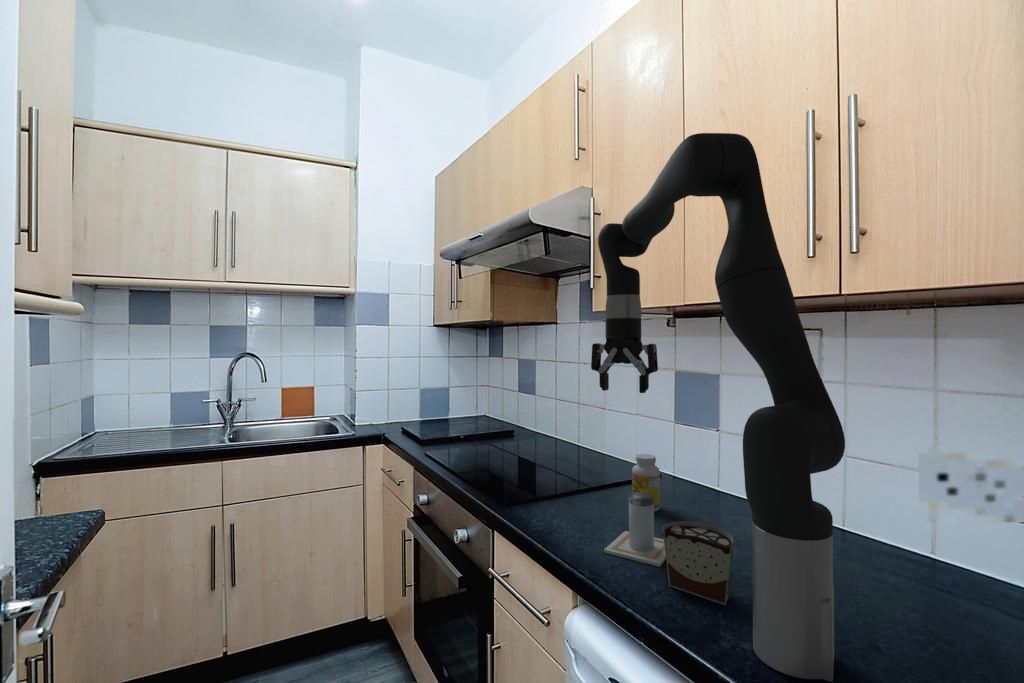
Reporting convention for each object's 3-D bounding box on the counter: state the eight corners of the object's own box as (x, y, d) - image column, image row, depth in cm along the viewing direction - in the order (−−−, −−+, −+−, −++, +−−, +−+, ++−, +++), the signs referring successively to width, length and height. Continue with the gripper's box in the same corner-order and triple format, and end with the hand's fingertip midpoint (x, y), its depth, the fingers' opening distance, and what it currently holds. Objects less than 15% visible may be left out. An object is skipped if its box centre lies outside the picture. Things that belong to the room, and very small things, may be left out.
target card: (677, 545, 100) (677, 541, 100) (659, 566, 91) (659, 563, 91) (625, 533, 106) (625, 530, 106) (604, 552, 97) (604, 549, 97)
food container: (748, 593, 81) (747, 532, 81) (735, 609, 76) (735, 544, 76) (675, 570, 89) (675, 515, 89) (660, 583, 85) (660, 525, 85)
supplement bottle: (626, 505, 123) (626, 454, 123) (649, 502, 125) (648, 451, 125) (642, 514, 117) (642, 460, 117) (666, 510, 119) (665, 457, 119)
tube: (657, 544, 99) (657, 494, 99) (649, 553, 95) (649, 502, 95) (633, 538, 101) (633, 490, 101) (625, 547, 97) (625, 497, 97)
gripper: (585, 317, 108) (586, 391, 108) (649, 315, 100) (650, 395, 100) (600, 317, 114) (600, 388, 114) (661, 316, 106) (661, 391, 106)
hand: (623, 391), depth 107 cm, fingers open, 8 cm apart
